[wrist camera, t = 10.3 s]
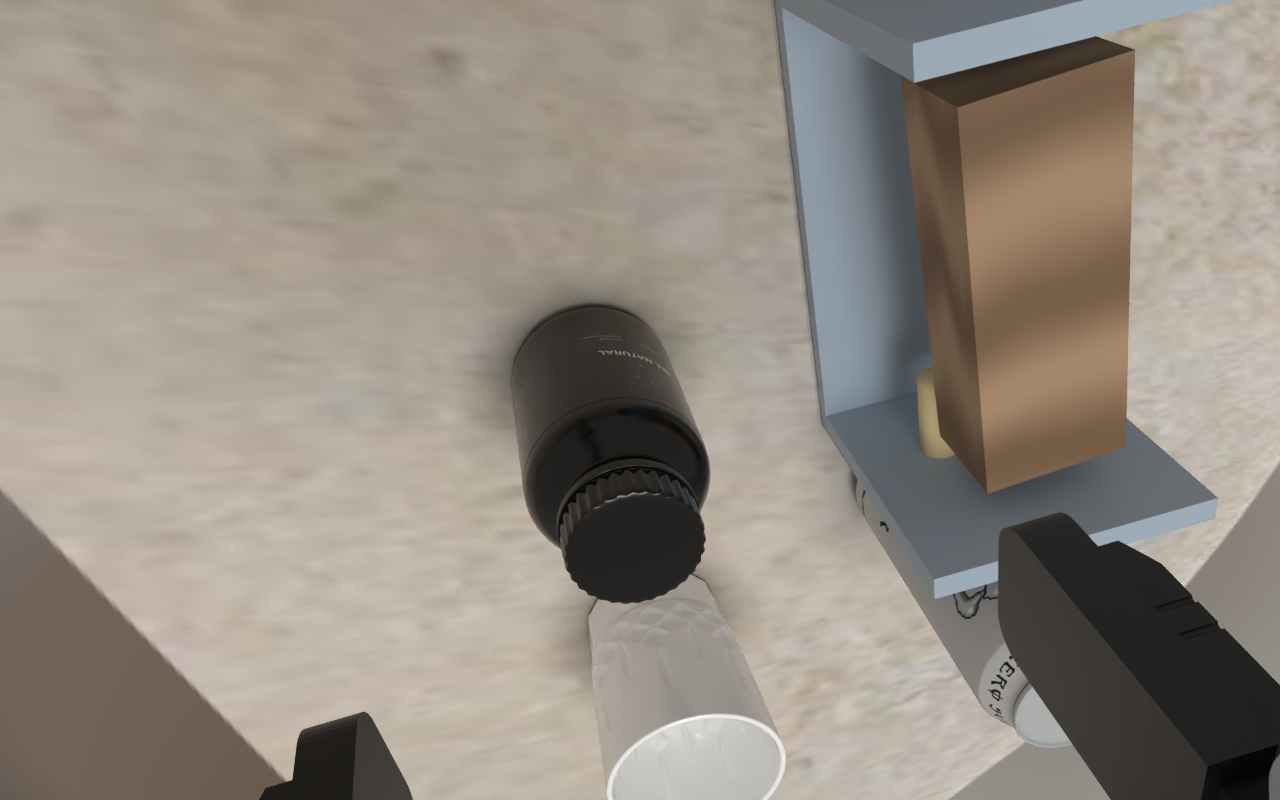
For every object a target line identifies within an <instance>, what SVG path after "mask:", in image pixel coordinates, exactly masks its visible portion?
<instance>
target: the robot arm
mask: <svg viewBox="0 0 1280 800" xmlns="http://www.w3.org/2000/svg"><path fill="white" fill-rule="evenodd" d="M998 619H999V624H1000V628H1001V632H1002V635H1003V638H1004V640H1005V643H1006V645H1007V648H1008V650H1009V652H1010V654H1011V655H1012V657H1013V659H1014V661H1015V662H1016V664H1017V665H1018V667H1019V668H1020V670H1021V671H1022V672H1023V674H1024V675H1025V677H1026V678H1027V680H1028V681H1029V682H1030V684H1031V685H1032V687H1033V688H1034V690H1035V691H1036V693H1037V694H1038V695H1039V697H1040V698H1041V700H1042V701H1043V703H1044V704H1045V705H1046V707H1047V708H1048V710H1049V711H1050V713H1051V714H1052V716H1053V717H1054V718H1055V720H1056V721H1057V723H1058V724H1059V726H1060V727H1061V729H1062V730H1063V731H1064V733H1065V734H1066V736H1067V737H1068V739H1069V740H1070V741H1071V743H1072V744H1073V746H1074V747H1075V749H1076V750H1077V752H1078V753H1079V754H1080V756H1081V757H1082V759H1083V760H1084V762H1085V763H1086V764H1087V766H1088V767H1089V769H1090V770H1091V772H1092V773H1093V774H1094V776H1095V777H1096V779H1097V780H1098V782H1099V783H1100V785H1101V786H1102V787H1103V789H1104V790H1105V792H1106V793H1107V795H1108V796H1109V797H1110V799H1111V800H1280V685H1279V684H1278V683H1277V682H1276V681H1275V680H1274V679H1273V678H1272V677H1271V676H1270V675H1269V674H1268V673H1267V672H1266V671H1265V670H1264V669H1263V668H1262V667H1261V666H1260V665H1259V663H1258V662H1257V661H1256V660H1254V658H1253V657H1252V656H1251V655H1250V654H1249V653H1248V652H1247V651H1246V650H1245V649H1244V648H1243V647H1242V646H1241V645H1240V644H1239V643H1238V642H1237V641H1236V640H1235V639H1234V638H1233V637H1232V636H1231V635H1230V634H1229V633H1228V632H1227V631H1226V630H1225V629H1220V627H1219V626H1218V621H1217V620H1216V619H1214V617H1213V616H1212V615H1211V614H1210V613H1209V612H1208V611H1207V610H1206V609H1205V608H1204V607H1203V606H1202V605H1201V604H1200V603H1199V602H1196V603H1195V602H1194V600H1193V598H1192V595H1191V594H1190V593H1189V592H1188V591H1187V590H1186V589H1185V588H1184V587H1183V586H1182V585H1181V584H1180V582H1179V581H1178V580H1177V579H1176V578H1175V577H1174V576H1173V575H1172V574H1171V573H1170V572H1169V571H1168V570H1167V569H1166V568H1165V567H1164V566H1163V565H1162V564H1161V563H1159V562H1157V561H1155V560H1154V559H1152V558H1150V557H1148V556H1146V555H1144V554H1142V553H1141V552H1139V551H1137V550H1135V549H1133V548H1131V547H1129V546H1128V545H1126V544H1124V543H1122V542H1120V541H1115V542H1111V543H1108V544H1104V545H1101V546H1097V545H1096V543H1095V542H1094V541H1093V540H1092V539H1091V538H1090V537H1089V536H1088V535H1087V534H1086V532H1085V531H1084V530H1083V529H1082V528H1081V527H1080V526H1079V525H1078V524H1077V523H1076V522H1075V521H1074V520H1073V519H1072V518H1071V517H1070V516H1069V515H1067V514H1065V513H1062V512H1058V513H1055V514H1051V515H1048V516H1044V517H1041V518H1037V519H1034V520H1030V521H1027V522H1024V523H1020V524H1017V525H1013V526H1010V527H1006V528H1003V529H1002V530H1001V532H1000V535H999V544H998ZM259 800H413V799H412V796H411V792H410V790H409V787H408V785H407V783H406V781H405V779H404V777H403V776H402V774H401V772H400V770H399V768H398V766H397V764H396V762H395V761H394V759H393V757H392V755H391V753H390V751H389V749H388V748H387V746H386V744H385V742H384V740H383V738H382V736H381V734H380V733H379V731H378V729H377V727H376V725H375V723H374V721H373V720H372V718H371V717H370V715H369V714H368V713H366V712H361V713H358V714H354V715H351V716H348V717H344V718H341V719H337V720H334V721H330V722H327V723H323V724H320V725H317V726H313V727H310V728H306V729H303V730H302V731H301V733H300V735H299V738H298V741H297V748H296V756H295V764H294V772H293V780H291V781H288V782H285V783H281V784H278V785H275V786H271V787H268V788H265V790H264V792H263V794H262V796H261V798H260V799H259Z"/></svg>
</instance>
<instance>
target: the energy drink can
mask: <svg viewBox="0 0 1280 800" xmlns="http://www.w3.org/2000/svg"><path fill="white" fill-rule="evenodd" d="M856 499H857V503H858V507H859V508H860V510H861V512H862V514H863V516H864V517H865V519H866V520H867V522H868V524H869V525H870V527H871V528H872V530H873V532H874V533H875V535H876V536H877V538H878V540H879V541H880V543H881V545H882V546H883V548H884V549H885V551H886V553H887V554H888V556H889V557H890V559H891V561H892V562H893V564H894V566H895V567H896V569H897V570H898V572H899V574H900V575H901V577H902V578H903V580H904V582H905V583H906V585H907V587H908V588H909V590H910V591H911V593H912V595H913V596H914V598H915V599H916V601H917V603H918V604H919V606H920V607H921V609H922V611H923V612H924V614H925V616H926V617H927V619H928V620H929V622H930V624H931V625H932V627H933V628H934V630H935V632H936V633H937V635H938V637H939V638H940V640H941V641H942V643H943V645H944V646H945V648H946V649H947V651H948V653H949V654H950V656H951V658H952V659H953V661H954V662H955V664H956V666H957V667H958V669H959V670H960V672H961V674H962V675H963V677H964V679H965V680H966V682H967V683H968V685H969V687H970V688H971V690H972V691H973V693H974V695H975V696H976V698H977V699H978V701H979V703H980V704H981V706H982V708H983V709H984V710H985V711H986V712H987V713H988V714H989V715H991V716H992V717H994V718H996V719H998V720H1000V721H1002V722H1004V723H1006V724H1008V725H1010V726H1012V727H1014V728H1015V729H1016V731H1017V733H1018V735H1019V736H1020V737H1021V738H1022V739H1023V740H1024V741H1026V742H1028V743H1030V744H1032V745H1035V746H1039V747H1046V748H1055V747H1064V746H1068V745H1072V743H1071V741H1070V740H1069V739H1068V737H1067V736H1066V734H1065V733H1064V731H1063V730H1062V729H1061V727H1060V726H1059V724H1058V723H1057V721H1056V720H1055V718H1054V717H1053V716H1052V714H1051V713H1050V711H1049V710H1048V708H1047V707H1046V705H1045V704H1044V703H1043V701H1042V700H1041V698H1040V697H1039V695H1038V694H1037V693H1036V691H1035V690H1034V688H1033V687H1032V685H1031V684H1030V682H1029V681H1028V680H1027V678H1026V677H1025V675H1024V674H1023V672H1022V671H1021V670H1020V668H1019V667H1018V665H1017V664H1016V662H1015V661H1014V659H1013V657H1012V655H1011V654H1010V652H1009V650H1008V648H1007V645H1006V643H1005V640H1004V638H1003V635H1002V632H1001V628H1000V624H999V619H998V581H996V582H993V583H989V584H986V585H982V586H979V587H975V588H972V589H968V590H965V591H961V592H958V593H954V594H951V595H948V596H944V597H941V598H937V599H934V597H933V596H932V594H931V593H930V591H929V590H928V588H927V587H926V585H925V583H924V582H923V580H922V579H921V577H920V576H919V574H918V573H917V571H916V570H915V568H914V566H913V565H912V563H911V562H910V560H909V559H908V557H907V556H906V554H905V552H904V551H903V549H902V548H901V546H900V545H899V543H898V542H897V540H896V538H895V537H894V535H893V534H892V532H891V531H890V529H889V528H888V526H887V525H886V523H885V521H884V520H883V518H882V517H881V515H880V514H879V512H878V511H877V509H876V507H875V506H874V504H873V503H872V501H871V500H870V498H869V497H868V495H867V493H866V492H865V490H864V489H863V487H862V486H861V484H860V483H859V481H858V482H857V486H856Z"/></svg>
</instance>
